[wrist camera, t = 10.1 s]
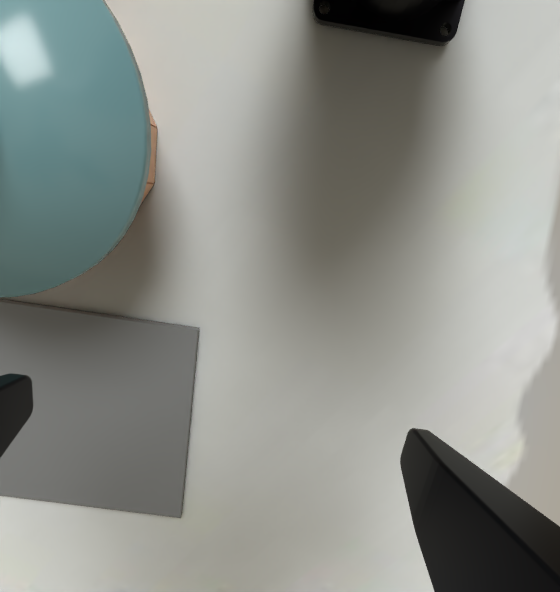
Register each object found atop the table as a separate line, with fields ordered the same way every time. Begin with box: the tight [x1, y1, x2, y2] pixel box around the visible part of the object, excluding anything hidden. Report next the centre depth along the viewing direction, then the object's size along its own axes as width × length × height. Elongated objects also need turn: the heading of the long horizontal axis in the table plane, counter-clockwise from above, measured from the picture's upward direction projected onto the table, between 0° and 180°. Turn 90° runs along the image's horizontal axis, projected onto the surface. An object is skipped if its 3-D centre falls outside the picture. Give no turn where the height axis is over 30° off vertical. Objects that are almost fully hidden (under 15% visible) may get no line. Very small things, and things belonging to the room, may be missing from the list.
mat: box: [0, 299, 199, 518], centre depth 22 cm, size 16×14×1 cm
